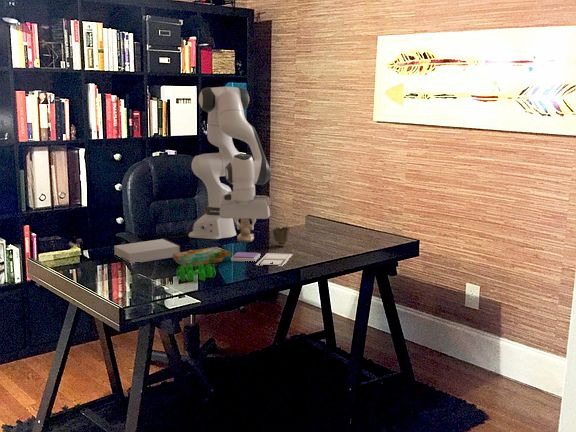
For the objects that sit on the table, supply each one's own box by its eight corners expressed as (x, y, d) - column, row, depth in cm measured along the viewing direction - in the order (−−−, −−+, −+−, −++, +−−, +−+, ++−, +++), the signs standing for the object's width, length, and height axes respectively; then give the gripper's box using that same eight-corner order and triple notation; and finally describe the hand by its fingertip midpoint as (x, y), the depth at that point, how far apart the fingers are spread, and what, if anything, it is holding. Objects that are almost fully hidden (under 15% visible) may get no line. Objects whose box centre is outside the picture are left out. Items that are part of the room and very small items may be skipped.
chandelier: (223, 279, 237) (223, 260, 236) (185, 286, 230) (184, 266, 228) (206, 270, 250) (205, 252, 249) (169, 276, 242) (168, 258, 241)
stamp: (237, 241, 262) (236, 216, 260) (240, 239, 266) (239, 214, 264) (251, 241, 261) (250, 216, 259) (253, 239, 265) (253, 214, 263)
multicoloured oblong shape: (172, 252, 260) (216, 244, 271) (173, 263, 261) (216, 255, 272) (186, 257, 250) (231, 249, 262) (186, 269, 251) (231, 261, 263)
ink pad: (230, 260, 262) (230, 256, 262) (237, 255, 271) (236, 251, 270) (255, 261, 260) (254, 257, 260) (260, 256, 269) (260, 252, 268)
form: (255, 265, 255) (255, 264, 255) (266, 253, 273) (266, 252, 273) (283, 266, 253) (283, 265, 253) (292, 254, 271) (292, 253, 271)
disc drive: (182, 256, 272) (181, 245, 271) (130, 265, 260) (129, 253, 259) (164, 249, 286) (164, 237, 286) (114, 256, 274) (113, 245, 273)
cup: (290, 244, 290) (290, 226, 288) (289, 248, 282) (288, 229, 281) (273, 244, 290) (273, 226, 289) (271, 247, 283) (271, 229, 282)
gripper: (271, 194, 261) (272, 228, 264) (222, 194, 266) (223, 227, 268) (267, 196, 255) (268, 231, 258) (217, 196, 259) (219, 230, 262)
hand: (245, 229), depth 263 cm, fingers closed on stamp, 4 cm apart
